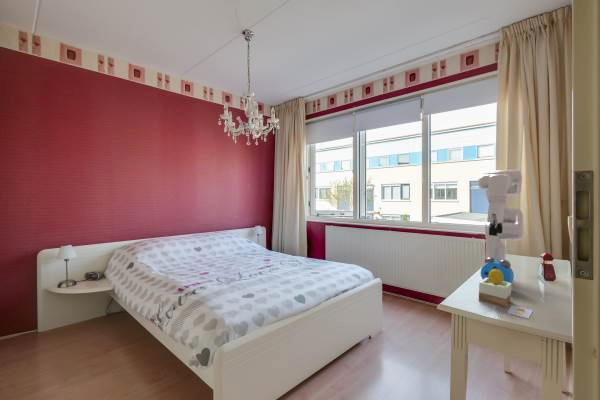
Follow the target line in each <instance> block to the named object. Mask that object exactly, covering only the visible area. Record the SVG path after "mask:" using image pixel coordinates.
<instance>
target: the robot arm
mask: <svg viewBox="0 0 600 400" xmlns="http://www.w3.org/2000/svg"><path fill="white" fill-rule="evenodd" d="M477 180H478V181H477V183H478V187H479V188H480V189H482V190H485V196H486V199H487V203H488V209H487V220H486V221H487V223H485V225H484V235H485V256H484V257H485V258H484V260H485V259H486V258H487V257H488V258H489V257H492V258H494V259H495V261H497V260H498V261H501V260H506V259H507V246H506V244H505V243H504V241H503V240H506V241H507V240H508V241H521V240H522V239H523V238H524V215H523V211H522V210H521V209H519V208H508V207H507V206H508V205H507V199H508V198H507V197H517V196H519V195H520V194H521V191H522V184H523V175H522V172H521V171H520V170H518V169H499V170H498V169H496V170H494V171H493V172H486V173H482V174H480V175H479V178H478V179H477ZM496 259H497V260H496ZM488 263H489V262H488ZM485 264H487V263H485V262H484V265H485Z"/></svg>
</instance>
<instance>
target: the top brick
mask: <svg viewBox="0 0 600 400" xmlns="http://www.w3.org/2000/svg"><path fill="white" fill-rule="evenodd" d="M512 283H513V282H512ZM512 283H509V282H504V281H503V282H502V283H501V284H500V285H497V286H496V285H494V284H492V283H491V282H490V281H489V278H485V279H482V280H480V282H479V283H478V293H479V292H480V293H484V294H488V295H492V296H496V297H500V298H504V299H506V298H507V297H508V296H509V295H510V294H511V295H512Z"/></svg>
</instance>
